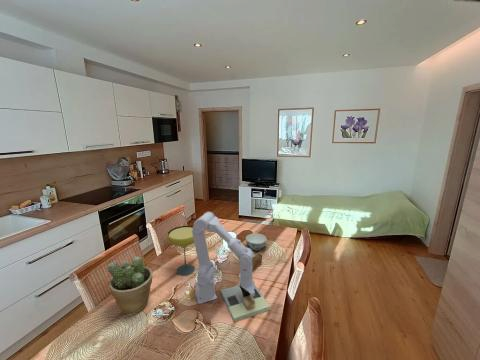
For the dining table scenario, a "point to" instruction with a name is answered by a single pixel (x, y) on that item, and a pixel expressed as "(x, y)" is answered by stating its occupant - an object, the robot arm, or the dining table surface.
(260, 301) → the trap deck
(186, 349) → the dining table surface
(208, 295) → the robot arm
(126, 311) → the potted plant
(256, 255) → the brown flat slab
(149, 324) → the dining table surface
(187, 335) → the dining table surface
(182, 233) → the cocktail glass
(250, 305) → the beech block
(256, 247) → the chinaware
